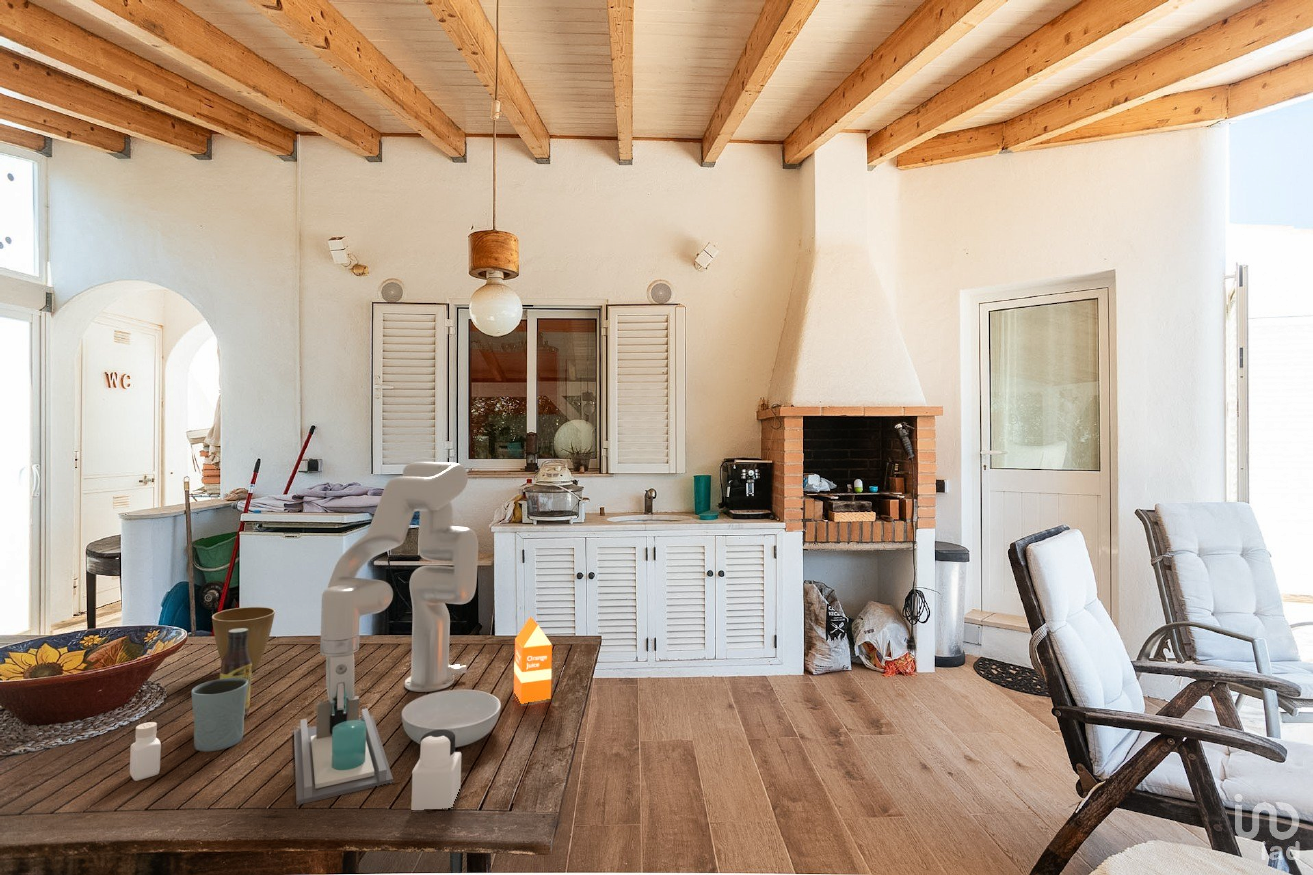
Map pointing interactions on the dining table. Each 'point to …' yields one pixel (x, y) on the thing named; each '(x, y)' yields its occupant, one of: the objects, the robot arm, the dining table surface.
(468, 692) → the serving bowl
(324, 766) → the sliding tray
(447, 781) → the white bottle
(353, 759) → the canister
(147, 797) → the dining table surface
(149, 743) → the pepper shaker
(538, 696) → the orange juice
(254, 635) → the plant pot
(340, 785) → the rail base
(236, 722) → the grey-blue cup
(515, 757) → the dining table surface
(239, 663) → the sauce bottle
